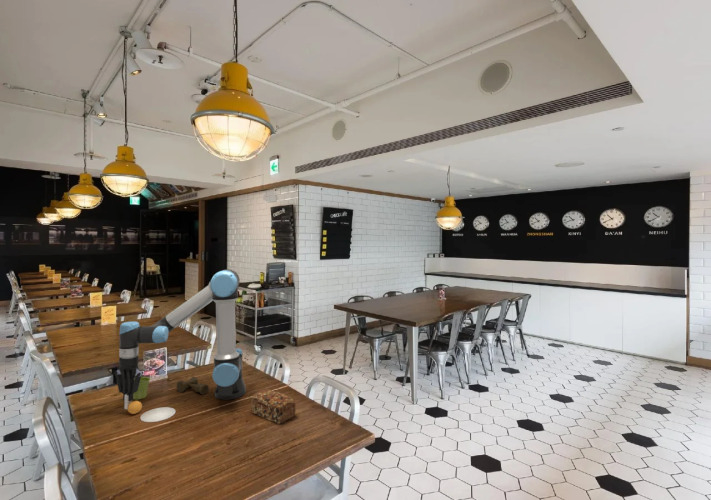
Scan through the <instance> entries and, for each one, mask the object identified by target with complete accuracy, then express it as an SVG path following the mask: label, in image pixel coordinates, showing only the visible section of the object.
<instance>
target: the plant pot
mask: <svg viewBox="0 0 711 500" xmlns="http://www.w3.org/2000/svg"><path fill="white" fill-rule="evenodd" d="M134 380H135V378H134ZM150 380H151V378H150V377H148V376H141V379H140V383H139V387H138V391H137V392H135V393H133V401H138V400H141V399H144V398H146V397H147V395H148V387H149V383H150Z"/></svg>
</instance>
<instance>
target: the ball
mask: <svg viewBox="0 0 711 500" xmlns="http://www.w3.org/2000/svg"><path fill="white" fill-rule="evenodd" d="M142 408H143V404H142V402H141V401H138V400H132V402H131V403H130V404H129V406H128V409H127V411H128V413H130V414H132V415H136V414H138V413H140V411H142Z"/></svg>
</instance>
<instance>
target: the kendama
mask: <svg viewBox="0 0 711 500" xmlns="http://www.w3.org/2000/svg"><path fill="white" fill-rule="evenodd" d="M187 388H191V389H194V390H195V392H196V393H200V395H201V396H203V395H206V394H207V393H208V391H209V389H210V388H209V385H208V384H203V383H199V381H198V378H197V377H196V376H192V377H190V379H189V380H186V381H183V380H178V381H177V383H176V389H177V391H178V393H184V392H185V391H186V389H187Z"/></svg>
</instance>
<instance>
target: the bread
mask: <svg viewBox="0 0 711 500" xmlns="http://www.w3.org/2000/svg"><path fill="white" fill-rule="evenodd" d="M250 402H251V403H250V404H251V409H252V411H251V412H253V414H254V415H257V416H259V417H261V418H263V419H265V420H268V421H271V422H274V423H277V424H283V423H285V422H286V421H288V420H290V419H292V418H294V417H295V416H296V402H295V400H294V399H293V398H292V397H290V396H288V395H287V394H284V393H281V392H278V391H276V390H271V389H265V388H264V389H261V390H259V391H257V392H255V393H254V394H253V395H252V398H251V401H250Z"/></svg>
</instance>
